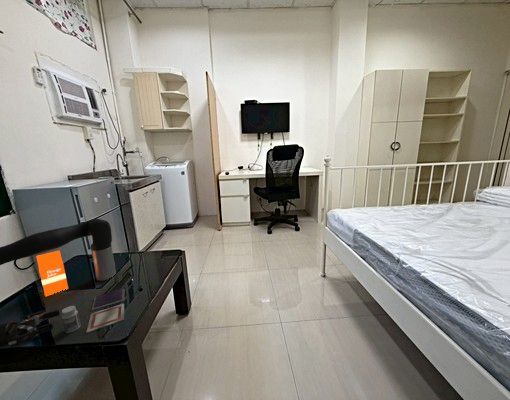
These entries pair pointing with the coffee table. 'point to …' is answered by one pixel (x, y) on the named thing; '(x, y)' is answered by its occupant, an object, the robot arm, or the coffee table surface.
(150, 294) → the coffee table surface
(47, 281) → the orange juice
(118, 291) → the ink pad
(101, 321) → the marked board
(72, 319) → the pill bottle
